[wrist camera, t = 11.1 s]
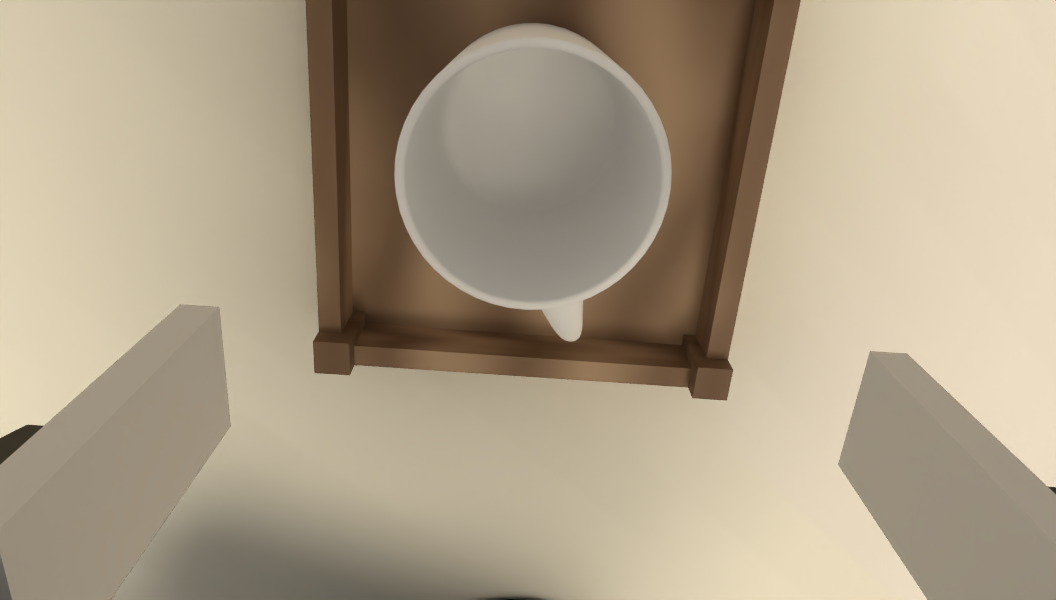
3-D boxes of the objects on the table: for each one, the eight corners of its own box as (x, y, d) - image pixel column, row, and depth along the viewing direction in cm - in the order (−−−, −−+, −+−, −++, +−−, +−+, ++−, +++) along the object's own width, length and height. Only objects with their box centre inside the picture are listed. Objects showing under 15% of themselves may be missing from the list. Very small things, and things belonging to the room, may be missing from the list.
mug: (478, 299, 36) (458, 417, 26) (412, 45, 31) (358, 72, 21) (652, 265, 35) (700, 373, 25) (611, 0, 31) (650, 6, 21)
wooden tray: (338, 330, 38) (314, 372, 34) (326, -86, 30) (293, -97, 26) (705, 355, 38) (726, 400, 34) (781, -48, 31) (820, -53, 27)
